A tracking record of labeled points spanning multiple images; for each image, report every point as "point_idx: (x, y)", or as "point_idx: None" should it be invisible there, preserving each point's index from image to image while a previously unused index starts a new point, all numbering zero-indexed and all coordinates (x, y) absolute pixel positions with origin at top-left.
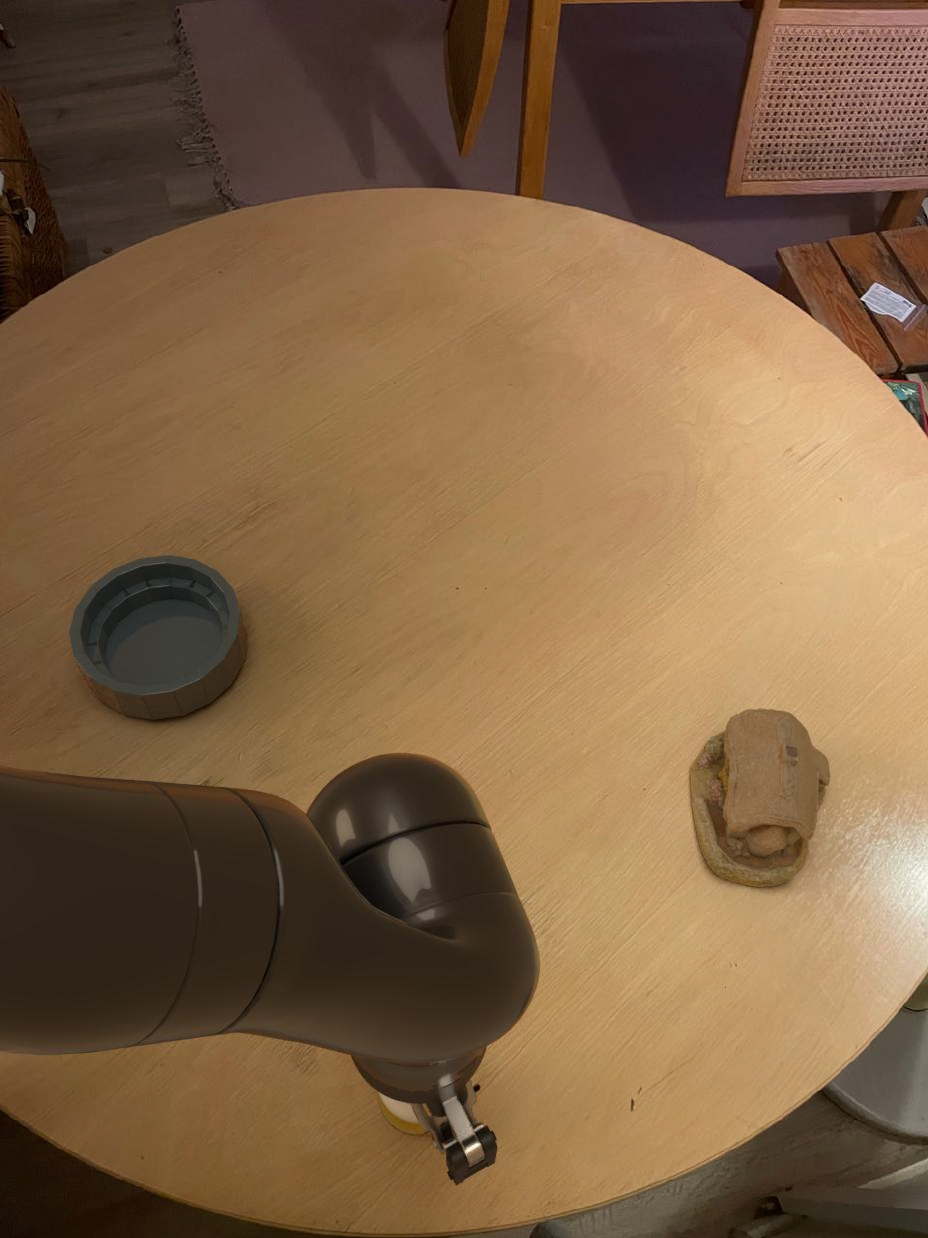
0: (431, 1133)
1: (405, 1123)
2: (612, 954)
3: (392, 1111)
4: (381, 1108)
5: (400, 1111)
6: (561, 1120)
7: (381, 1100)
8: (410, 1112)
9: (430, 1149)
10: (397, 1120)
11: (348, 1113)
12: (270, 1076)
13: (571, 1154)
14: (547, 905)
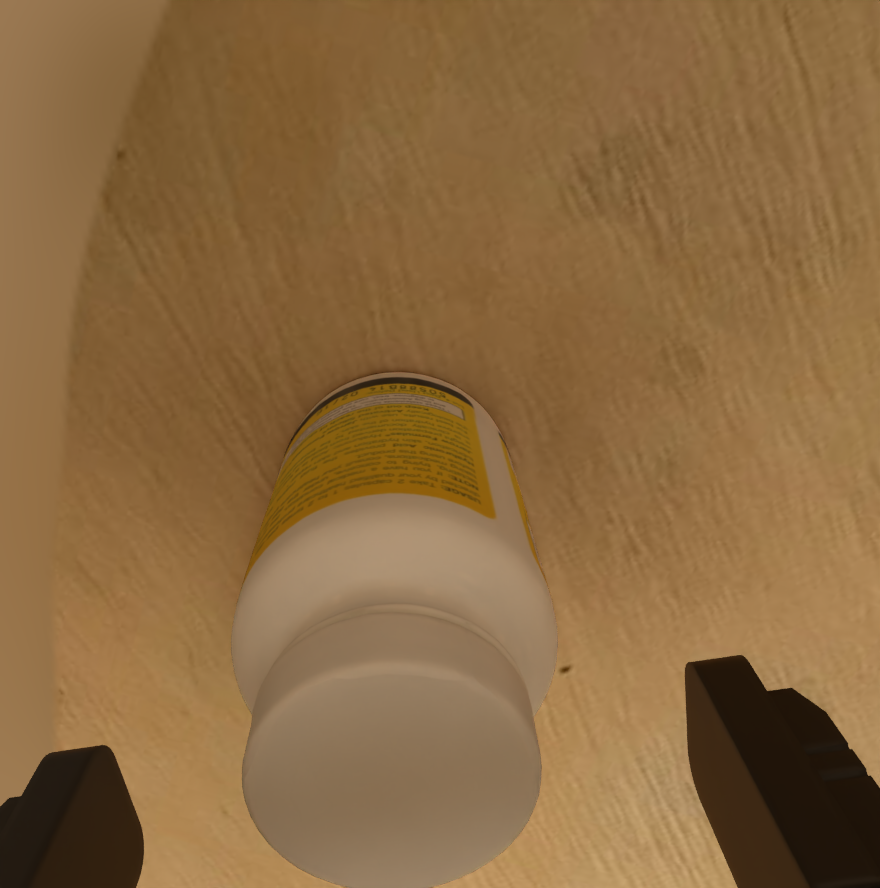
0: (27, 884)
1: (268, 527)
2: None
3: (296, 540)
4: (376, 400)
5: (281, 579)
6: (233, 764)
7: (360, 490)
8: (265, 615)
9: (249, 467)
10: (291, 495)
11: (411, 271)
12: (608, 45)
13: (154, 763)
14: (712, 867)
